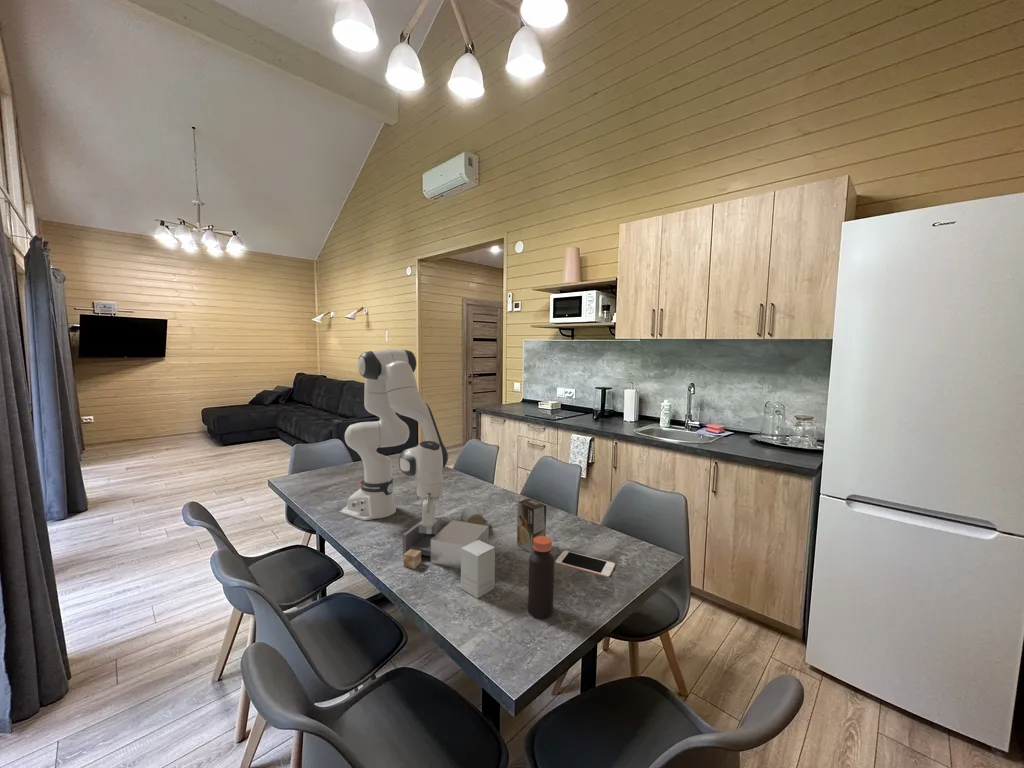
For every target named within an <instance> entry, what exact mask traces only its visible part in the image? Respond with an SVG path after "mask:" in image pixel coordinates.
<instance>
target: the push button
mask: <svg viewBox="0 0 1024 768" xmlns="http://www.w3.org/2000/svg"><path fill="white" fill-rule="evenodd" d="M420 521H421V520H420ZM420 521H419V522H420ZM441 527H442V519H441V518H440V517H435V518H434V525H433V526H432V533H431V534H436V533H439V530H440V529H441ZM419 533H426V526H423V525H422V521H421V522H420V524H419Z"/></svg>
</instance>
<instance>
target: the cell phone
mask: <svg viewBox="0 0 1024 768" xmlns="http://www.w3.org/2000/svg"><path fill="white" fill-rule="evenodd" d="M555 564H557V565H561V566H565V567H568V568H571V569H574V570H575V569H576V570H579V571H583V572H587V573H590V574H594V575H597V576H601V577H604V576H605V578H610V577H609V576H611V575H612V573H613V571H614V568H615V567H616V563H615V562H612V561H609V560H604V559H600V558H597V557H592V556H589V555H584V554H580V553H577V552H572V551H570V550H563V551H562V552H561V553H560V555H559V556H558V557H557V558H556V559H555Z"/></svg>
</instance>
